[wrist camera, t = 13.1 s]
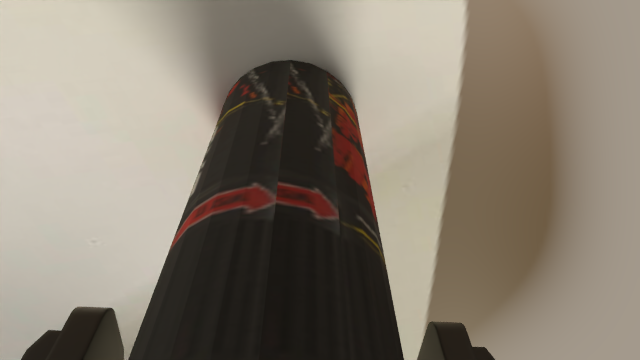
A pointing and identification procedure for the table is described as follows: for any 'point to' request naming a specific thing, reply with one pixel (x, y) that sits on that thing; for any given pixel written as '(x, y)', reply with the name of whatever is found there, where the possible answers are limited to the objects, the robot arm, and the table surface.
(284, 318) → the deodorant
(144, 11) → the table surface
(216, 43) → the table surface
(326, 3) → the table surface
